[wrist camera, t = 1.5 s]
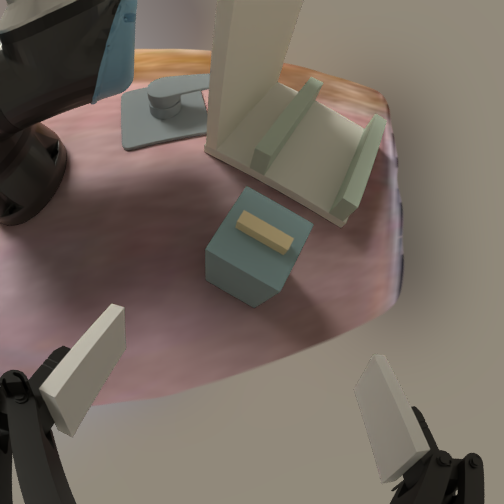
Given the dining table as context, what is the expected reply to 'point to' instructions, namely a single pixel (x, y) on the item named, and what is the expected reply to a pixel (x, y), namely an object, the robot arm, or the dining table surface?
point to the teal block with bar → (255, 248)
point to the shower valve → (164, 111)
